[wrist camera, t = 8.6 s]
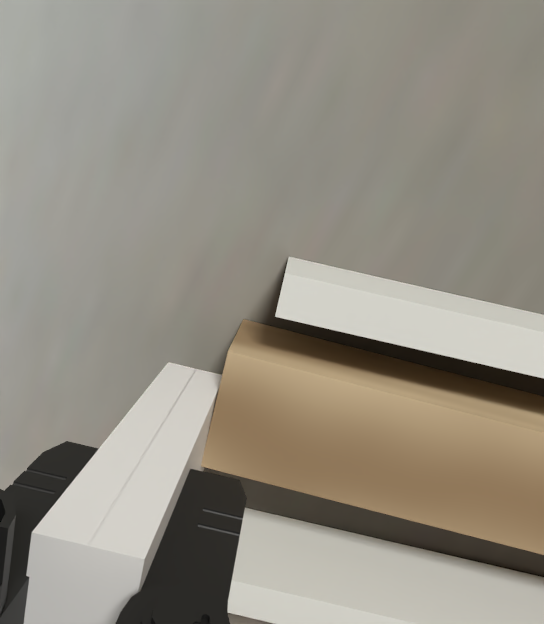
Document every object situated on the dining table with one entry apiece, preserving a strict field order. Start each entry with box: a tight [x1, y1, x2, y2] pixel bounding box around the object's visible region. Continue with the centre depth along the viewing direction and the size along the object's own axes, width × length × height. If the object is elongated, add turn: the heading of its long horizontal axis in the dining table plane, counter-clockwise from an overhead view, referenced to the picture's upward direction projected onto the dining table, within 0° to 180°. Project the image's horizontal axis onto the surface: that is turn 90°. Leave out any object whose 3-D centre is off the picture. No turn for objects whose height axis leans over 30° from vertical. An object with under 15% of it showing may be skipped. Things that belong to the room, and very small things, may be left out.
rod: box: [201, 319, 544, 555], centre depth 13 cm, size 3×14×3 cm, turn 76°
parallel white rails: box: [228, 257, 544, 624], centre depth 13 cm, size 9×12×3 cm
